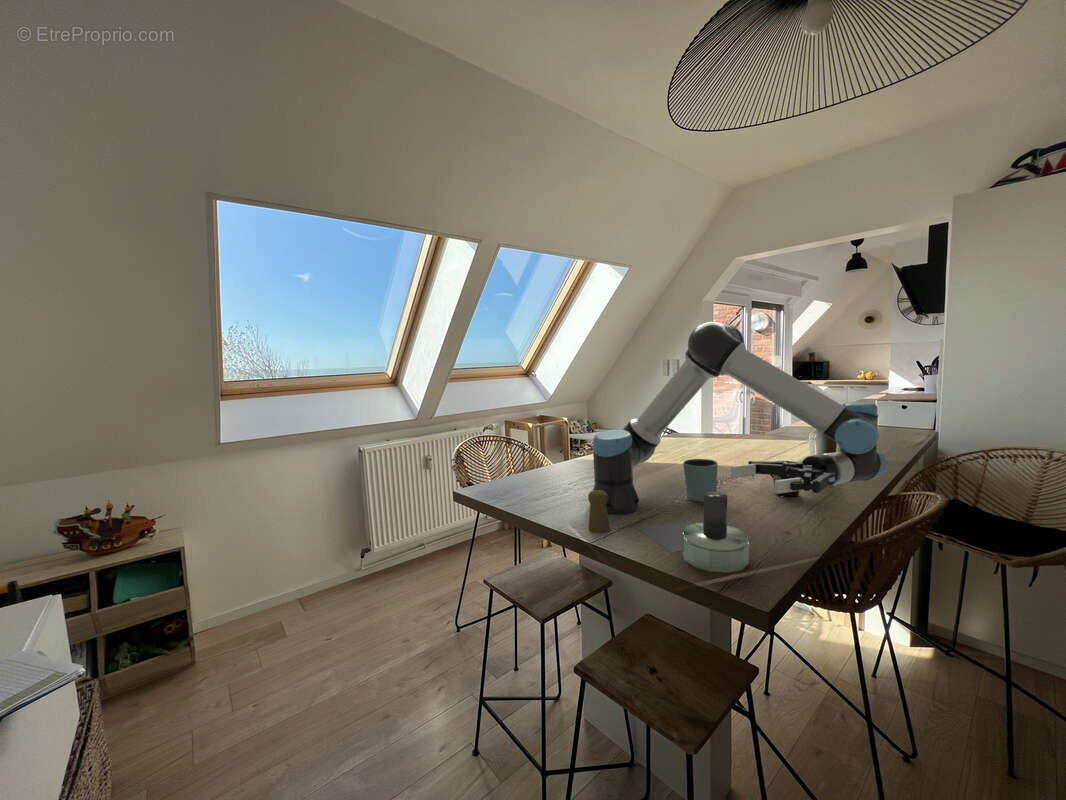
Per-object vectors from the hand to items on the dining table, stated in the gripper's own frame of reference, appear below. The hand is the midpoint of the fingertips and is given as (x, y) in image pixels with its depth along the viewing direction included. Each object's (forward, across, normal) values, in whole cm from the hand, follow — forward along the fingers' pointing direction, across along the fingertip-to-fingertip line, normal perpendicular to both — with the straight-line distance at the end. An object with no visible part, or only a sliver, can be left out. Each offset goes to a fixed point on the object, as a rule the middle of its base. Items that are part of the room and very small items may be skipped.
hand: (752, 479), depth 103 cm
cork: (+28, +24, -18) cm, 41 cm away
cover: (+12, -2, -16) cm, 20 cm away
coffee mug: (-39, +30, -17) cm, 52 cm away
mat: (+11, +12, -17) cm, 23 cm away
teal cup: (-12, +35, -17) cm, 41 cm away
